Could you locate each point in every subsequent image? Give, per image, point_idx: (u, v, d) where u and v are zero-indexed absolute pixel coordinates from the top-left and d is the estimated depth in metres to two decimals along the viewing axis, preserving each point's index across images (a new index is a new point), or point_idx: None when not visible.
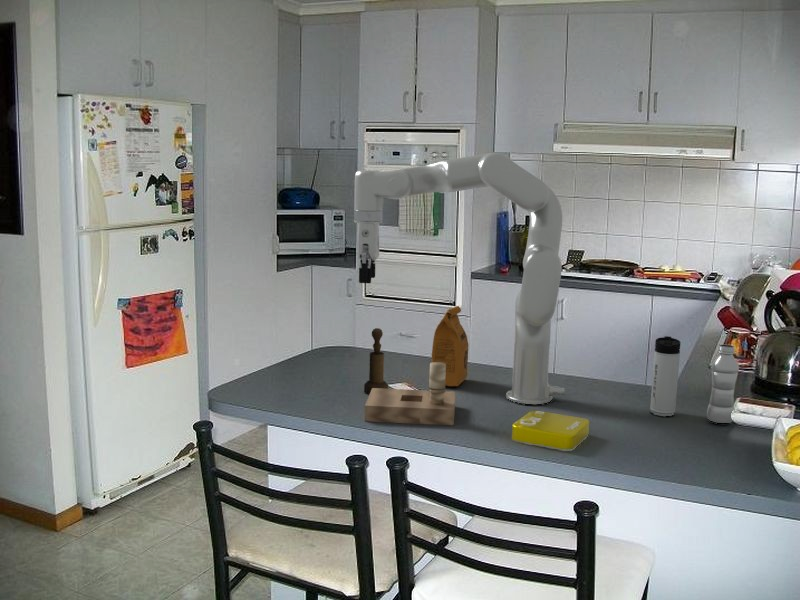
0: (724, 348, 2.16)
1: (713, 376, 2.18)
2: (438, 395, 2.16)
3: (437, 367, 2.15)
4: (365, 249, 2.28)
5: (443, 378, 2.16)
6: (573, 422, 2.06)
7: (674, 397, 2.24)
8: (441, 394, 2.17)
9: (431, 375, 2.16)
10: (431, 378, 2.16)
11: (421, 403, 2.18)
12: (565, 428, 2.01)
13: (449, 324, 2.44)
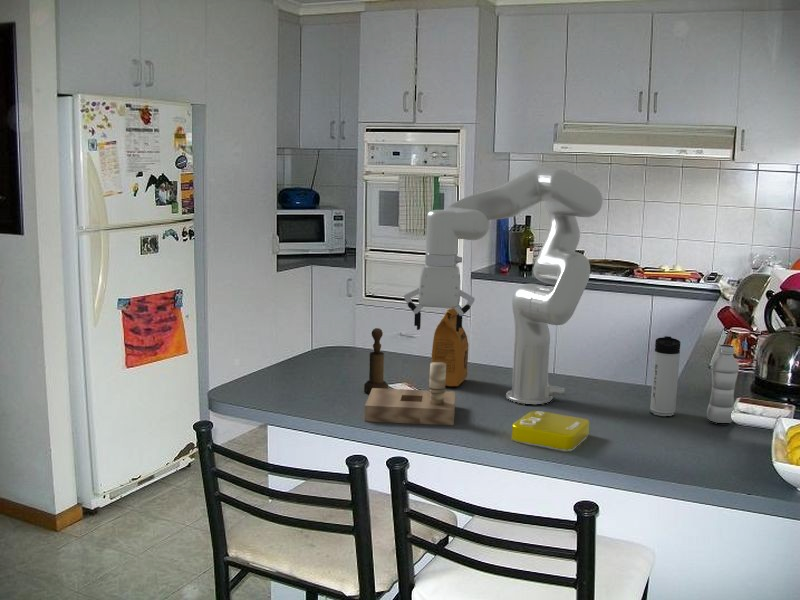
0: (724, 348, 2.16)
1: (713, 376, 2.18)
2: (438, 395, 2.16)
3: (437, 367, 2.15)
4: (467, 294, 2.13)
5: (443, 378, 2.16)
6: (573, 422, 2.05)
7: (674, 397, 2.24)
8: (441, 394, 2.17)
9: (431, 375, 2.16)
10: (431, 378, 2.16)
11: (421, 403, 2.18)
12: (565, 428, 2.01)
13: (449, 324, 2.44)
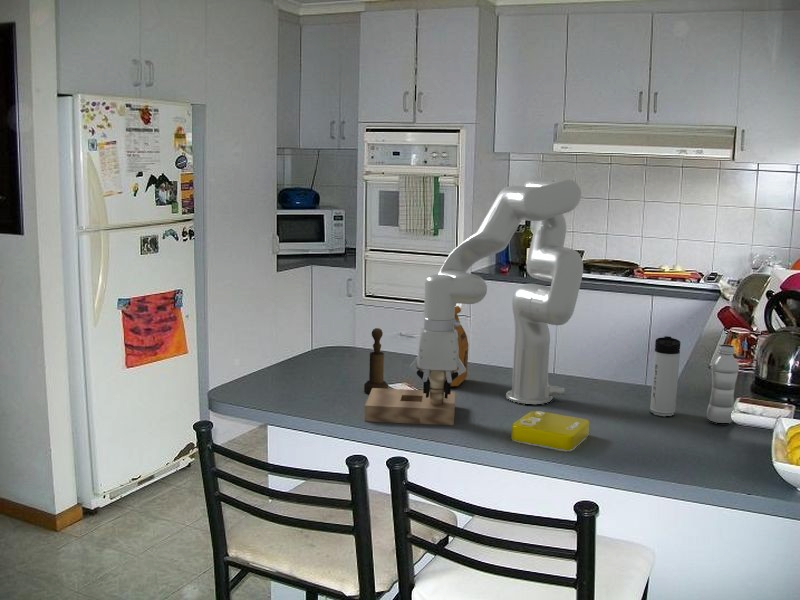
0: (724, 348, 2.16)
1: (713, 376, 2.18)
2: (438, 395, 2.16)
3: None
4: (462, 363, 2.16)
5: (443, 378, 2.16)
6: (573, 422, 2.05)
7: (674, 397, 2.24)
8: (441, 394, 2.17)
9: (431, 375, 2.16)
10: (431, 377, 2.16)
11: (421, 403, 2.18)
12: (565, 428, 2.01)
13: None
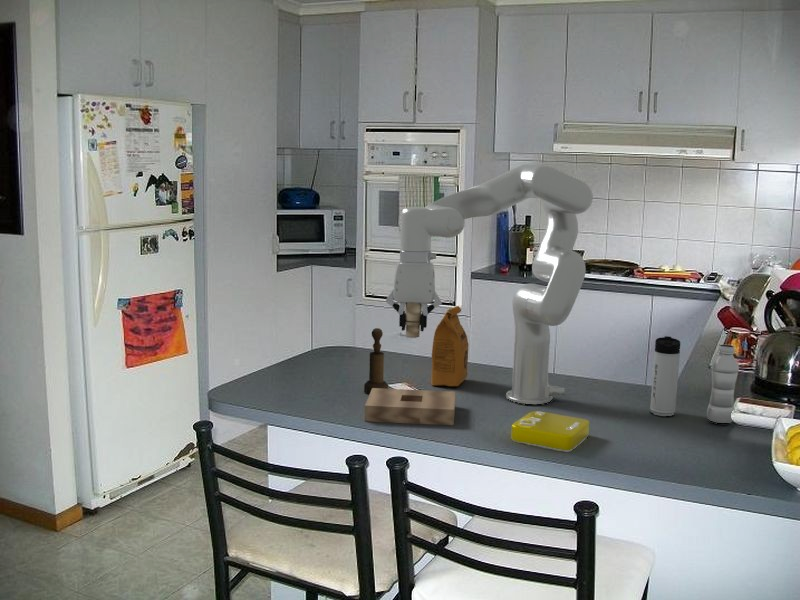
0: (724, 348, 2.16)
1: (713, 376, 2.18)
2: (414, 328, 2.17)
3: None
4: (437, 295, 2.17)
5: (419, 310, 2.17)
6: (573, 423, 2.05)
7: (674, 397, 2.24)
8: (417, 327, 2.17)
9: (407, 307, 2.17)
10: (407, 310, 2.17)
11: (421, 403, 2.18)
12: (564, 428, 2.01)
13: (449, 324, 2.44)
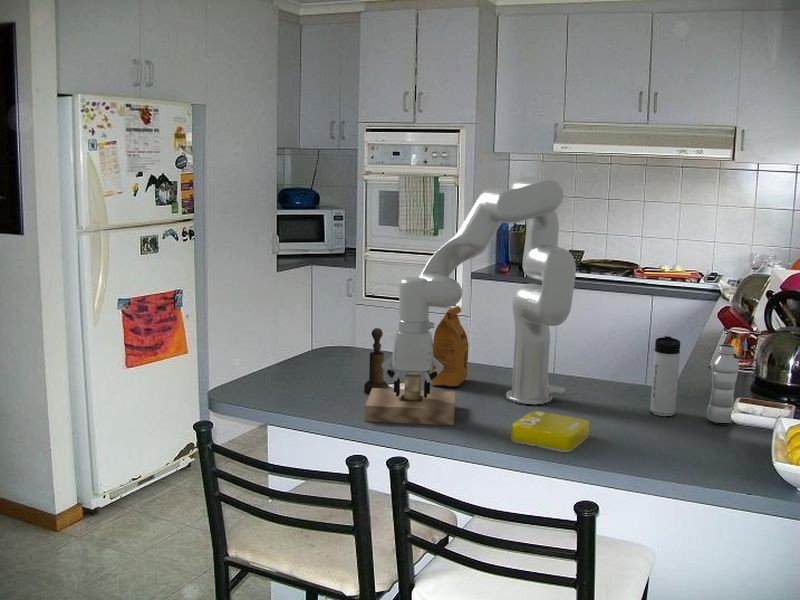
0: (724, 348, 2.16)
1: (713, 376, 2.18)
2: None
3: (412, 378, 2.19)
4: None
5: (418, 389, 2.20)
6: (573, 423, 2.05)
7: (674, 397, 2.24)
8: None
9: (406, 386, 2.20)
10: (406, 389, 2.20)
11: (421, 403, 2.18)
12: (564, 429, 2.01)
13: (449, 324, 2.44)
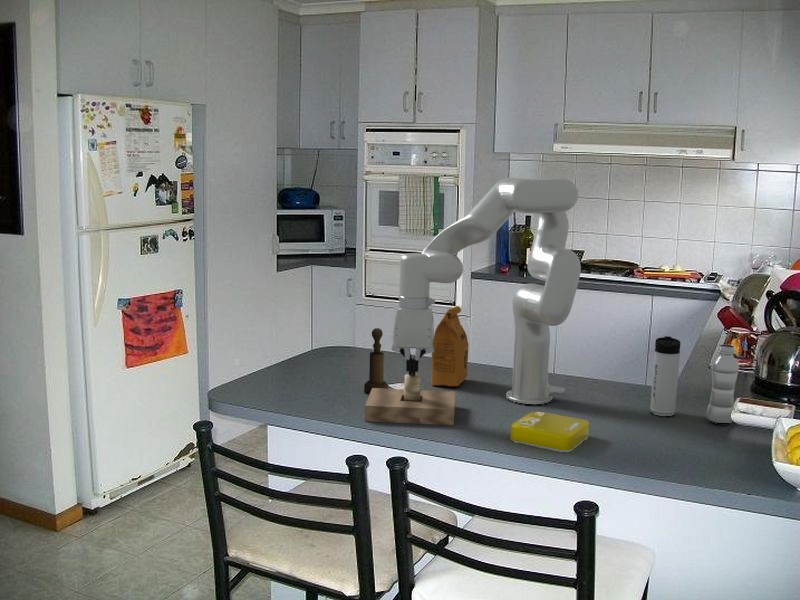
0: (724, 348, 2.16)
1: (713, 376, 2.18)
2: None
3: (412, 378, 2.19)
4: (432, 343, 2.19)
5: (418, 389, 2.20)
6: (572, 423, 2.05)
7: (674, 397, 2.24)
8: None
9: (406, 386, 2.20)
10: (406, 389, 2.20)
11: (421, 403, 2.18)
12: (563, 429, 2.00)
13: (449, 324, 2.44)
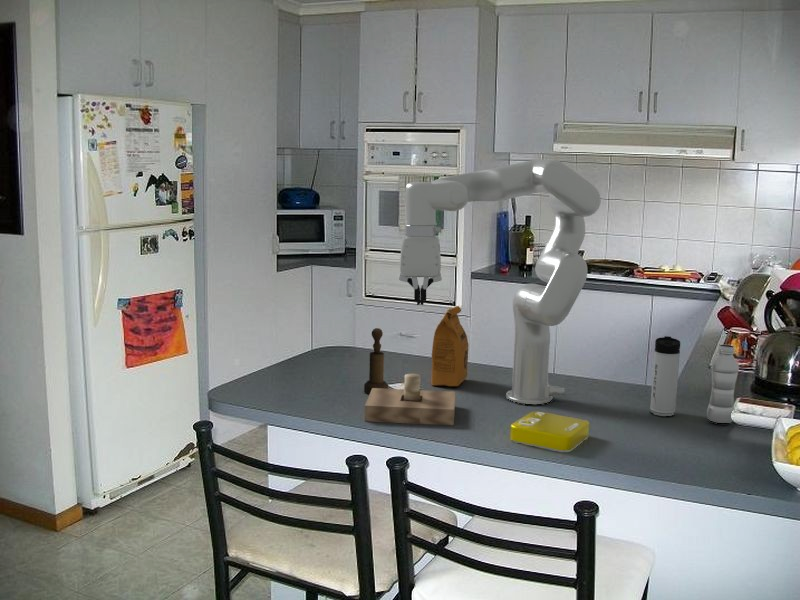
0: (724, 348, 2.16)
1: (713, 376, 2.18)
2: None
3: (412, 378, 2.19)
4: None
5: (418, 389, 2.20)
6: (572, 423, 2.05)
7: (674, 397, 2.24)
8: None
9: (406, 386, 2.20)
10: (406, 389, 2.20)
11: (421, 403, 2.18)
12: (563, 429, 2.00)
13: (449, 324, 2.44)
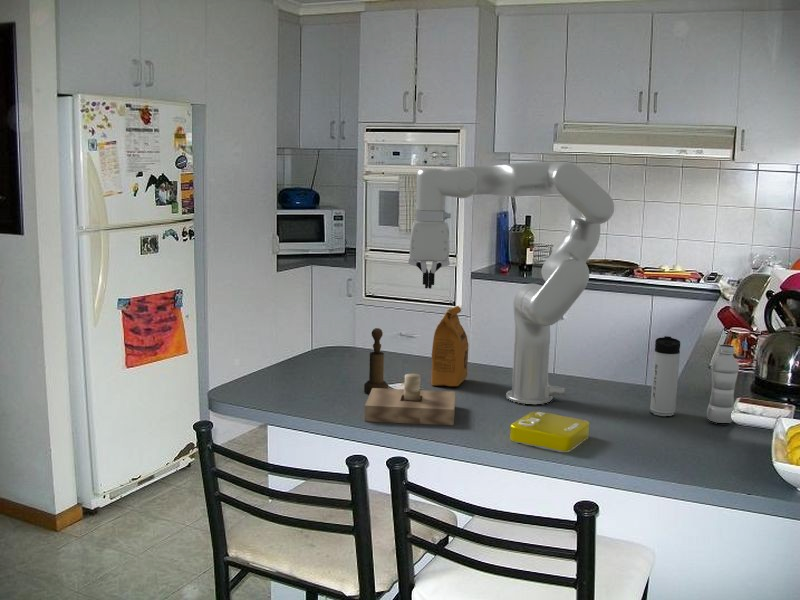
0: (724, 348, 2.16)
1: (713, 376, 2.18)
2: None
3: (412, 379, 2.19)
4: (448, 256, 2.25)
5: (418, 389, 2.20)
6: (572, 423, 2.05)
7: (674, 397, 2.24)
8: None
9: (406, 386, 2.20)
10: (406, 389, 2.20)
11: (421, 403, 2.18)
12: (563, 429, 2.00)
13: (449, 324, 2.44)
